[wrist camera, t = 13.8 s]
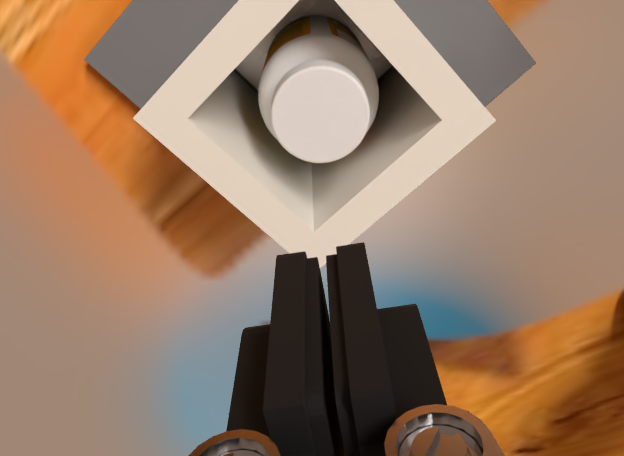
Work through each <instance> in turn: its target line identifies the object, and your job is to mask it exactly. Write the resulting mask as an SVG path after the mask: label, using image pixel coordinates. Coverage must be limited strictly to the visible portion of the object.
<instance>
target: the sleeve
mask: <svg viewBox="0 0 624 456" xmlns="http://www.w3.org/2000/svg"><path fill="white" fill-rule="evenodd" d="M298 1H299V0H238V2H237V3H236V4H235V5H234V6H233V7H232V8H231V9H230V11H229V12H228V13H227V14H226V15H225V16H224V17H223V18H222V19H221V21H220V22H219V23H218V24H217V25H216V26H215V27H214V28H213V29H212V31H211V32H210V33H209V34H208V35H207V36H206V37H205V38H204V39H203V41H202V42H201V43H200V44H199V45H198V46H197V47H196V48H195V50H194V51H193V52H192V53H191V54H190V55H189V56H188V57H187V58H186V60H185V61H184V62H183V63H182V64H181V65H180V66H179V67H178V68H177V70H176V71H175V72H174V73H173V74H172V75H171V76H170V77H169V78H168V80H167V81H166V82H165V83H164V84H163V85H162V86H161V87H160V88H159V90H158V91H157V92H156V93H155V94H154V95H153V96H152V97H151V99H150V100H149V101H148V102H147V103H146V104H145V105H144V106H143V107H142V109H141V110H140V111H139V112H138V113H137V114H136V115H135V116H134V117H133V119H134V120H135V121H136V122H137V123H139V124H140V125H141V126H142V127H143V128H144V129H146V130H147V131H148V132H149V133H150V134H151V135H153V136H154V137H155V138H156V139H157V140H158V141H159V142H161V143H162V144H163V145H164V146H165V147H166V148H168V149H169V150H170V151H171V152H172V153H173V154H175V155H176V156H177V157H178V158H179V159H180V160H182V161H183V162H184V163H185V164H186V165H187V166H189V167H190V168H191V169H192V170H193V171H194V172H195V173H197V174H198V175H199V176H200V177H201V178H202V179H204V180H205V181H206V182H207V183H208V184H209V185H211V186H212V187H213V188H214V189H215V190H216V191H218V192H219V193H220V194H221V195H222V196H223V197H224V198H226V199H227V200H228V201H229V202H230V203H231V204H233V205H234V206H235V207H236V208H237V209H238V210H240V211H241V212H242V213H243V214H244V215H245V216H247V217H248V218H249V219H250V220H251V221H252V222H254V223H255V224H256V225H257V226H258V227H259V228H260V229H262V230H263V231H264V232H265V233H266V234H267V235H269V236H270V237H271V238H272V239H273V240H274V241H276V242H277V243H278V244H279V245H280V246H281V247H283V248H284V249H285V250H286V251H287V252H288V253H289V254H290V253H297V252H303V251H305V252H306V255H307V258H314V257H317V258H318V262H319V267H320V268H321V267H322V266H324V265H325V264H326V256H327V255H334V254H337V252H336V247H337V246H343V245H349V244H350V243H351V242H352V241H353V240H354V239H356V238H357V237H358V236H359V235H360V234H362V233H363V232H364V231H365V230H366V229H368V228H369V227H370V226H371V225H372V224H374V223H375V222H376V221H377V220H378V219H380V218H381V217H382V216H383V215H384V214H385V213H386V212H388V211H389V210H390V209H391V208H392V207H394V206H395V205H396V204H397V203H398V202H400V201H401V200H402V199H403V198H405V197H406V196H407V195H408V194H409V193H410V192H411V191H413V190H414V189H415V188H416V187H418V186H419V185H420V184H421V183H422V182H423V181H425V180H426V179H427V178H428V177H429V176H431V175H432V174H433V173H434V172H435V171H437V170H438V169H439V168H440V167H441V166H443V165H444V164H445V163H446V162H447V161H449V160H450V159H451V158H452V157H453V156H455V155H456V154H457V153H458V152H459V151H460V150H462V149H463V148H464V147H465V146H466V145H468V144H469V143H470V142H471V141H472V140H474V139H475V138H476V137H477V136H478V135H480V134H481V133H482V132H483V131H484V130H485V129H487V128H488V127H489V126H490V125H491V124H493V123H494V122H495V121H496V120H495V119H494V117H493V116H492V115H491V114H490V113H489V112H488V110H487V109H486V108H485V107H484V106H483V104H482V103H481V102H480V101H479V100H478V99H477V97H476V96H475V95H474V94H473V93H472V92H471V90H470V89H469V88H468V87H467V86H466V85H465V83H464V82H463V81H462V80H461V79H460V77H459V76H458V75H457V74H456V73H455V72H454V70H453V69H452V68H451V67H450V66H449V65H448V63H447V62H446V61H445V60H444V59H443V58H442V56H441V55H440V54H439V53H438V52H437V51H436V49H435V48H434V47H433V46H432V45H431V43H430V42H429V41H428V40H427V39H426V38H425V36H424V35H423V34H422V33H421V32H420V31H419V29H418V28H417V27H416V26H415V25H414V24H413V22H412V21H411V20H410V19H409V18H408V17H407V15H406V14H405V13H404V12H403V11H402V9H401V8H400V7H399V6H398V5H397V4H396V2H395V1H394V0H335V1H336V3H337V4H338V5H339V6H340V7H341V8H342V9H343V10H344V12H345V13H346V14H347V15H348V16H349V17H350V18H351V19H352V20H353V22H354V23H355V24H356V25H357V26H358V27H359V28H360V29H361V30H362V32H363V33H364V34H365V35H366V36H367V37H368V38H369V39H370V40H371V42H372V43H373V44H374V45H375V46H376V47H377V48H378V49H379V50H380V52H381V53H382V54H383V55H384V56H385V57H386V58H387V59H388V60H389V62H390V63H391V64H392V65H393V66H394V67H393V68H392V69H391V70H390V71H389V72H388V73H387V74H386V75H385V76H384V77H383V78H382V79H381V80H380V81H379V82H378V88H379V103H378V109H377V113H376V116H375V119H374V121H373V123H372V125H371V127H370V128H369V130H368V131H367V133H366V134H365V136H364V138H363V140H362V141H361V143H360V144H359V145H358V146H357V147H356V148H355V149H354V150H353V151H352V152H351V153H350V154H348V155H346V156H345V157H343V158H341V159H339V160H336V161H332V162H327V163H312V162H307V161H304V160H301V159H299V158H297V157H295V156H293V155H292V154H290V153H289V152H288V151H287V150H286V149H285V148H283V147H282V145H281V144H280V143H279V141H278V140H277V139H276V138H275V137H274V136H273V135H272V134H271V132H270V131H269V129H268V128H267V126H266V124H265V122H264V120H263V117H262V115H261V112H260V108H259V101H258V94H257V93H256V92H255V91H254V90H253V89H252V88H251V87H250V86H249V85H248V84H247V83H246V82H245V81H244V80H243V79H242V78H241V77H240V76H239V75H238V74H237V73H236V72H235V71H234V69H235V68H236V67H237V66H238V65H239V64H240V63H241V62H242V61H243V59H244V58H245V57H246V56H247V55H248V54H249V53H250V52H251V51H252V50H253V49H254V48H255V47H256V46H257V45H258V44H259V42H260V41H261V40H262V39H263V38H264V37H265V36H266V35H267V34H268V33H269V32H270V31H271V30H272V29H273V28H274V27H275V26H276V24H277V23H278V22H279V21H280V20H281V19H282V18H283V17H284V16H285V15H286V14H287V13H288V12H289V11H290V10H291V9H292V7H293V6H294V5H295V4H296V3H297V2H298Z"/></svg>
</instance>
